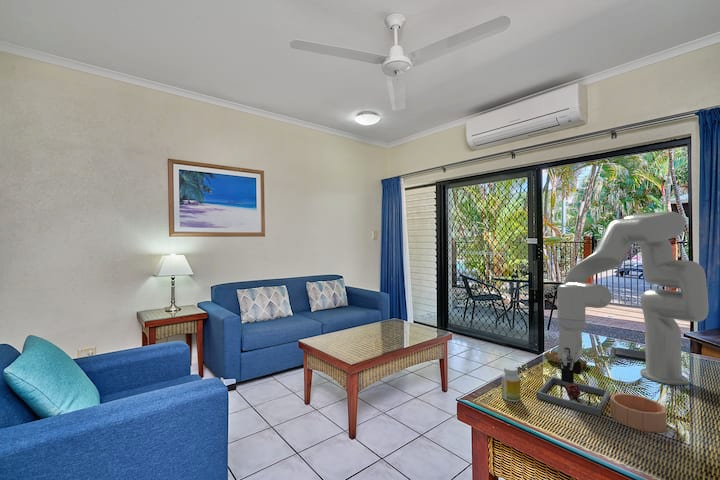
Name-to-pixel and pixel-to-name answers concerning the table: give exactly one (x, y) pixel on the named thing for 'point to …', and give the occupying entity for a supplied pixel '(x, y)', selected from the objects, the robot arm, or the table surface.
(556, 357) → the decorative rock
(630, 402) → the bowl
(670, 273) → the robot arm
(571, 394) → the dice
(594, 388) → the grey flat square frame
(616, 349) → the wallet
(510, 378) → the supplement bottle
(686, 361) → the table surface
